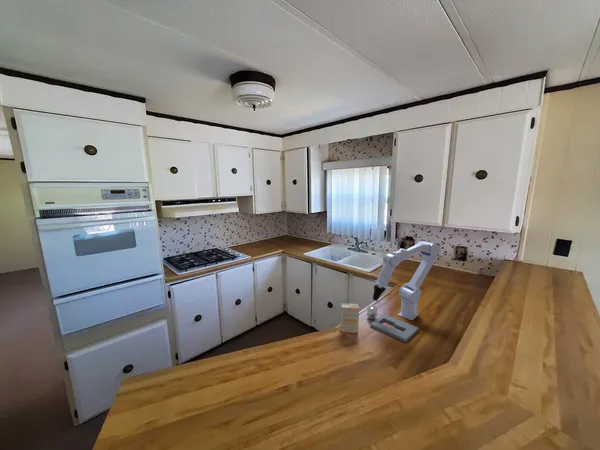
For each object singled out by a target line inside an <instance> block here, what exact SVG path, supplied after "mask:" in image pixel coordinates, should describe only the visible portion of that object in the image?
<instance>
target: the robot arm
mask: <svg viewBox="0 0 600 450" xmlns="http://www.w3.org/2000/svg"><path fill="white" fill-rule="evenodd" d="M440 252H441V249H440V246H439V244H438V243H437V242H436V243H435V242H434V243H433V242H428V241H425V240H421V241H418V242H417V243H416V244H414V245H413V246H411V247H409V248H407V249H405V248H400V249H399V250H398V251H397V250H396V251H395V252H394V251H393V252H392V253H387V254H385V255H384V256H383V257H382V266H381V269H380V271H379V274H378V277H377V279H374V280H373V282H374V283H377V284H373V295H372V300H373V301H376V302H378V300H379V298H381V296H382V294H383V293H384V292H385V291H386V289H387V287H388V284H389V282H390V279H391V277H392V275H393V272H394V270H395V268H396V267H398V266H399V264H400V263H401V262H403V261H405V260H408V259H409V258H410V256H412V255H415V254H418V253H419V254H420V255H421V257H422V261H421V263H419V266H418V267H417V269H416V270H415V272H414V274H413V275H412V278H411V279H410V280H409V282H405V283H404V284H403V285H402V286H401V287H400V288H399V291H398V295H399V296H400V300H401V304H400V312H399V313H398V314H397V316H399V317H402V318H405V319H407V320H410V321H413V320H415V318H417V317H418V316H419V313H418V302H419V300H420V297H421V294H422V291H421V289H420V287H421V285H422V284H423V282H424V280H425V278H426V277H427V274H428V273H429V272H430V270H431V269H432V267H433V265H434V263H435V261H436V259H437V257H438V256H439V254H440Z"/></svg>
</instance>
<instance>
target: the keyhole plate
mask: <svg viewBox="0 0 600 450" xmlns="http://www.w3.org/2000/svg"><path fill="white" fill-rule="evenodd" d="M382 322H386V323H389V324H390V325H393V326H387V325H385V324H383V323H382ZM369 325H370V328H372V329H375V330H377V331H380V332H382V333H384V334H386V335H388V336H390V337H392V338H395V339H397V340H399V341H402V342H404V343H407V342H408V341H409V340H410V339H411V338H412V337H413V336H414V335H416V333H418V331H419V327H418V326H415V325H413V324H410V323H407V322H405V321H402V320H400V319H398V318H395V317H392V316H390V315H387V314H383V315H382V316H379V317H378V318H377V319H374V321H372V322H371V323H370V324H369Z"/></svg>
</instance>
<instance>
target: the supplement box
mask: <svg viewBox="0 0 600 450" xmlns="http://www.w3.org/2000/svg"><path fill="white" fill-rule="evenodd" d="M359 316H360V307H359V305H358V303H340V331H341V333H342V334H345V333H346V334H357V335H358V334H359V324H360V323H359V320H360V319H359V318H360V317H359Z"/></svg>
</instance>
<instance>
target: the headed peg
mask: <svg viewBox="0 0 600 450" xmlns="http://www.w3.org/2000/svg"><path fill="white" fill-rule="evenodd" d="M366 308H367V311H366V316H367V317H368V318H369V320H375V318H377V317H378V307H377V306H374V305H368V306H367V307H366Z"/></svg>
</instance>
